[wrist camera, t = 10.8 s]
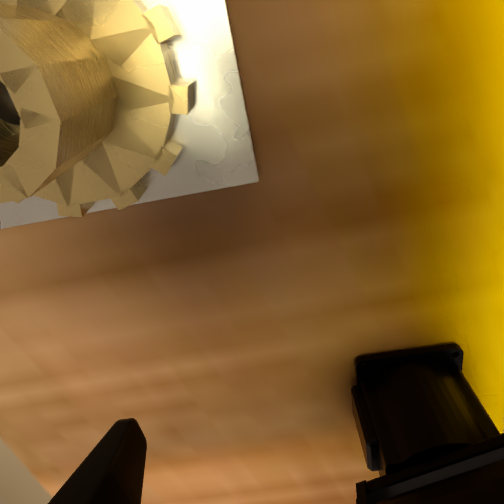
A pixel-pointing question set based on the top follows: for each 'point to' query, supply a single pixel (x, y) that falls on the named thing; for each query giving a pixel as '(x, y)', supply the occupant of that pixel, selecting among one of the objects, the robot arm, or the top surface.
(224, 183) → the carrier plate
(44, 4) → the gear
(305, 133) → the top surface
